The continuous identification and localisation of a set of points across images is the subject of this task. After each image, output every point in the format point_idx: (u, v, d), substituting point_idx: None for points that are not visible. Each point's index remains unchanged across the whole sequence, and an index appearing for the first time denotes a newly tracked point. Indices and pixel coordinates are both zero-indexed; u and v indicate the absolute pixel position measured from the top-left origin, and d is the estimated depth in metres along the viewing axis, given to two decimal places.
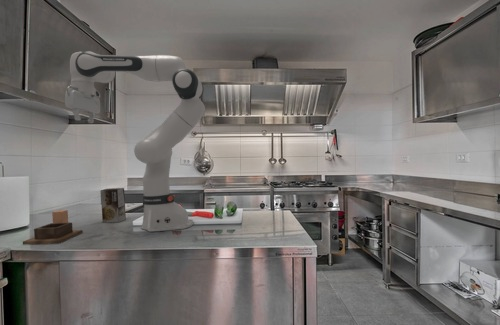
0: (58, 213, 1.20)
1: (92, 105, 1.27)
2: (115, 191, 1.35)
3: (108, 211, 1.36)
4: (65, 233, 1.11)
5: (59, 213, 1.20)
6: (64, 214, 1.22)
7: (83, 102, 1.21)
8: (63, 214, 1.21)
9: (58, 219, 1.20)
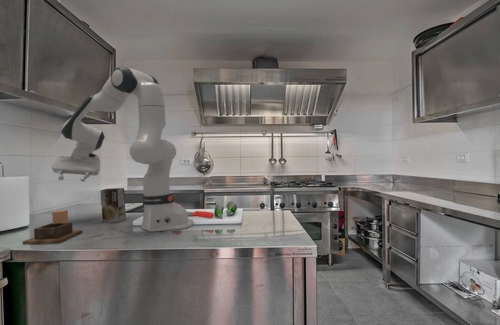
0: (58, 213, 1.20)
1: (83, 165, 1.36)
2: (115, 191, 1.35)
3: (108, 211, 1.36)
4: (65, 233, 1.11)
5: (59, 213, 1.20)
6: (64, 214, 1.22)
7: (69, 164, 1.35)
8: (63, 214, 1.21)
9: (58, 219, 1.20)
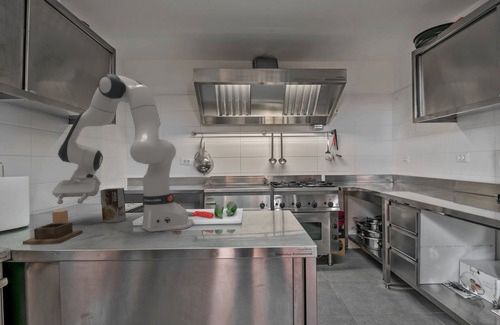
0: (58, 213, 1.20)
1: (81, 187, 1.33)
2: (115, 191, 1.35)
3: (108, 211, 1.36)
4: (65, 233, 1.11)
5: (59, 213, 1.20)
6: (64, 214, 1.22)
7: (68, 187, 1.33)
8: (63, 214, 1.21)
9: (58, 219, 1.20)
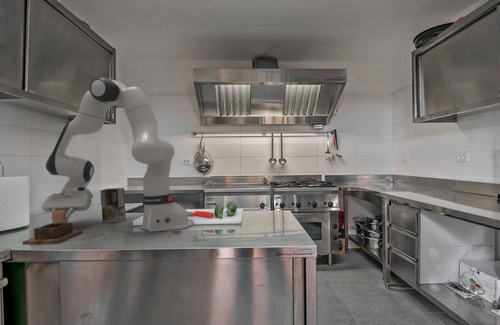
0: (58, 213, 1.20)
1: (72, 201, 1.26)
2: (115, 191, 1.35)
3: (108, 211, 1.36)
4: (65, 233, 1.11)
5: (59, 213, 1.20)
6: None
7: (58, 201, 1.26)
8: (63, 213, 1.21)
9: (58, 219, 1.20)
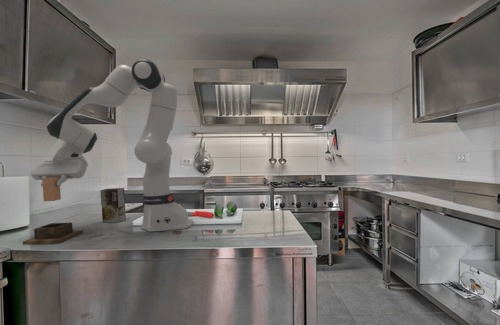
0: (49, 179, 1.09)
1: (65, 168, 1.14)
2: (115, 191, 1.35)
3: (108, 211, 1.36)
4: (65, 233, 1.11)
5: (50, 179, 1.09)
6: (55, 181, 1.10)
7: (49, 168, 1.14)
8: (54, 180, 1.10)
9: (49, 186, 1.09)
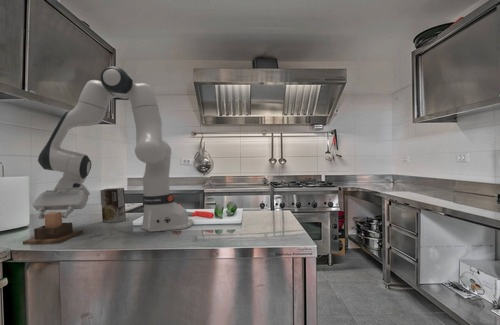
0: (51, 215, 1.09)
1: (66, 198, 1.14)
2: (115, 191, 1.35)
3: (108, 211, 1.36)
4: (65, 233, 1.11)
5: (52, 215, 1.09)
6: (57, 217, 1.11)
7: (51, 199, 1.15)
8: (56, 216, 1.10)
9: (51, 222, 1.09)
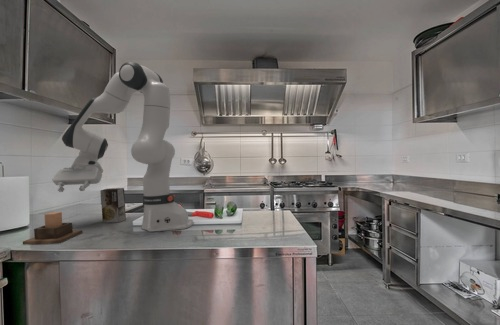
0: (51, 215, 1.09)
1: (83, 174, 1.26)
2: (115, 191, 1.35)
3: (108, 211, 1.36)
4: (65, 233, 1.11)
5: (52, 215, 1.09)
6: (57, 217, 1.11)
7: (69, 174, 1.26)
8: (56, 216, 1.10)
9: (51, 222, 1.09)
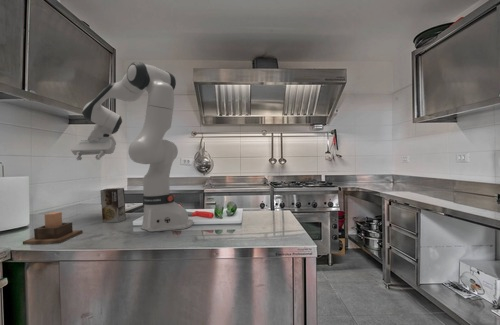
0: (51, 215, 1.09)
1: (99, 145, 1.40)
2: (115, 191, 1.35)
3: (108, 211, 1.36)
4: (65, 233, 1.11)
5: (52, 215, 1.09)
6: (57, 217, 1.11)
7: (86, 145, 1.40)
8: (56, 216, 1.10)
9: (51, 222, 1.09)
